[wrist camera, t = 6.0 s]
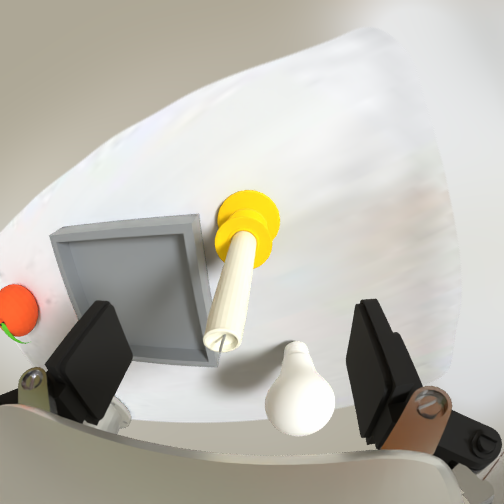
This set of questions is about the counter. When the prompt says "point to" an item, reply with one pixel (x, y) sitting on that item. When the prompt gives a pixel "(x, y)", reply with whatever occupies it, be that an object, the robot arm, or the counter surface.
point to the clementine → (17, 311)
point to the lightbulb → (299, 395)
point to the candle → (239, 263)
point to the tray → (143, 283)
